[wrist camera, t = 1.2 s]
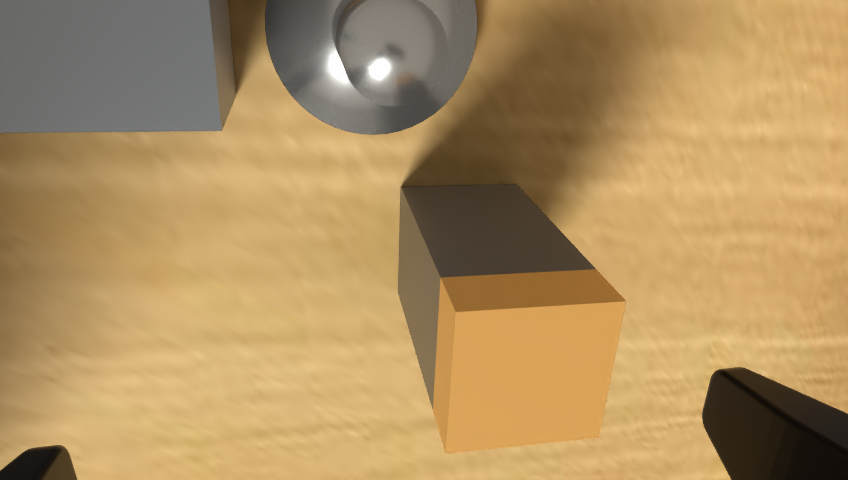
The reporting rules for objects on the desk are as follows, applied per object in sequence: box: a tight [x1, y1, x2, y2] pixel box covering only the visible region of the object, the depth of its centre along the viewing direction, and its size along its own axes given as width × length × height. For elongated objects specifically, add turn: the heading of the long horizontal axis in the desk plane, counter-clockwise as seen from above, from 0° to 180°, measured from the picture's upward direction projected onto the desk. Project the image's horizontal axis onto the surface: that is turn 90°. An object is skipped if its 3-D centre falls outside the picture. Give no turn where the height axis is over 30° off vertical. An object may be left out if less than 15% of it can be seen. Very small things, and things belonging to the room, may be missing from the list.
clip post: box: [265, 0, 477, 135], centre depth 16 cm, size 6×6×5 cm
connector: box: [398, 184, 626, 454], centre depth 18 cm, size 4×4×8 cm
